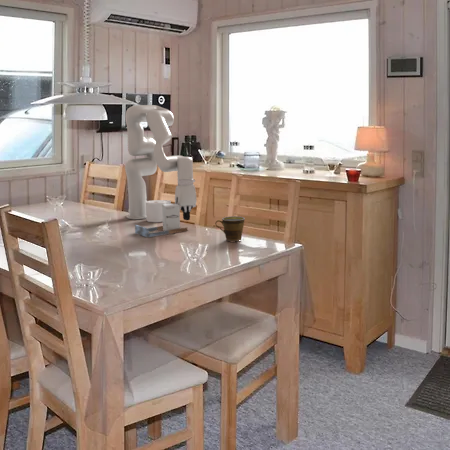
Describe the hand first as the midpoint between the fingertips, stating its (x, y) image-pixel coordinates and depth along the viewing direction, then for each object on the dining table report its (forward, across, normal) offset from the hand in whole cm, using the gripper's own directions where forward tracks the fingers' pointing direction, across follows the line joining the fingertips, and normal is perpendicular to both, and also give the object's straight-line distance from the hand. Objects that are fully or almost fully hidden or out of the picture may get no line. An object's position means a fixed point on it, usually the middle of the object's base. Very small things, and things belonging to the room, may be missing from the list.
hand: (186, 219), depth 303 cm
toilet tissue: (+4, +1, -26) cm, 27 cm away
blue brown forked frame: (+4, +14, 0) cm, 15 cm away
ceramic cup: (+4, 0, +36) cm, 36 cm away
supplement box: (+4, +9, 0) cm, 10 cm away
